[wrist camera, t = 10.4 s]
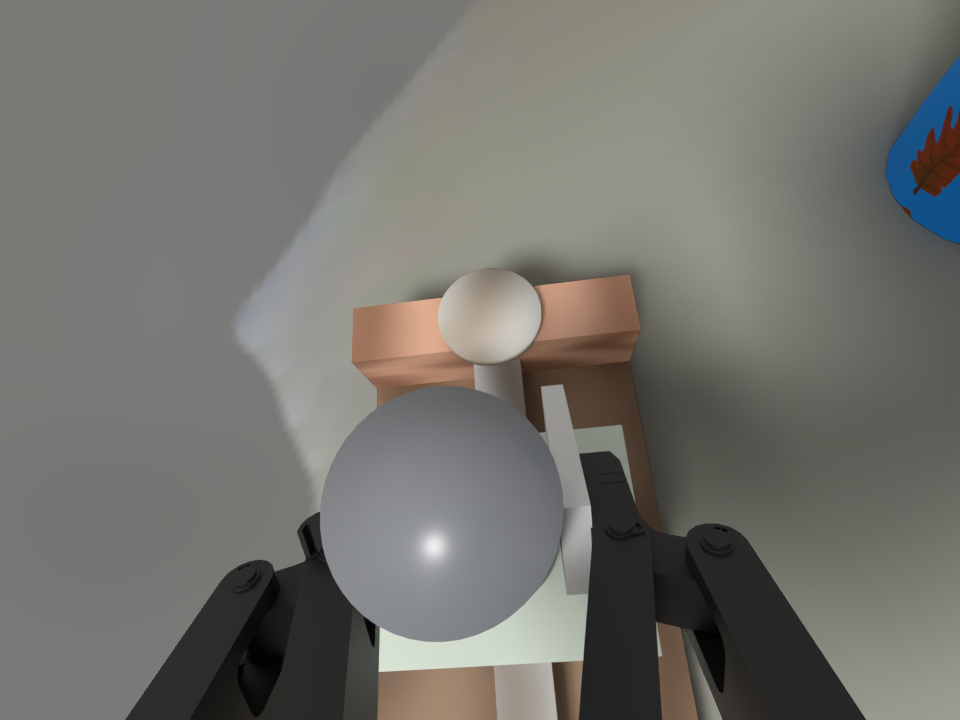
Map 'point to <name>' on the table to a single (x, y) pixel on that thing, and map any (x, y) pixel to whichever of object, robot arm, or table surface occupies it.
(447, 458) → the carriage
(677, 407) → the table surface
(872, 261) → the table surface
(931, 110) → the thermos
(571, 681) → the rail board
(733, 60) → the table surface
